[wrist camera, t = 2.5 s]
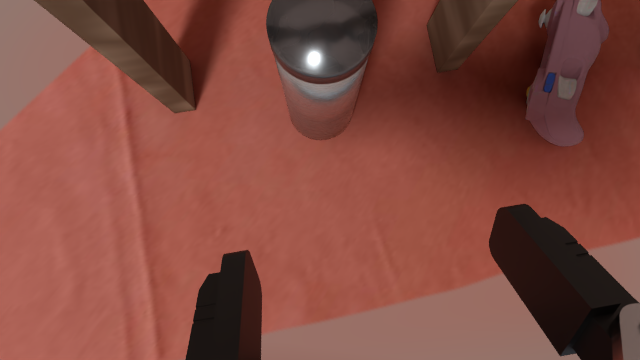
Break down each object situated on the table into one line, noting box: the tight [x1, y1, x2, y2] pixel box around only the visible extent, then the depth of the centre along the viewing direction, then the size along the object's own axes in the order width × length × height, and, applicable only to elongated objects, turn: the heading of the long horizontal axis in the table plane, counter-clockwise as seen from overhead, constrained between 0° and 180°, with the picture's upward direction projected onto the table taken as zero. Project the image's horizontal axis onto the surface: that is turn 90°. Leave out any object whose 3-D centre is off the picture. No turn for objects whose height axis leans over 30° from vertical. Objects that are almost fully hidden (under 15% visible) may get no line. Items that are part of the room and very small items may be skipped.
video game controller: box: [525, 0, 609, 146], centre depth 24 cm, size 10×5×7 cm, turn 161°
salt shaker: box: [266, 0, 377, 140], centre depth 20 cm, size 5×5×11 cm
